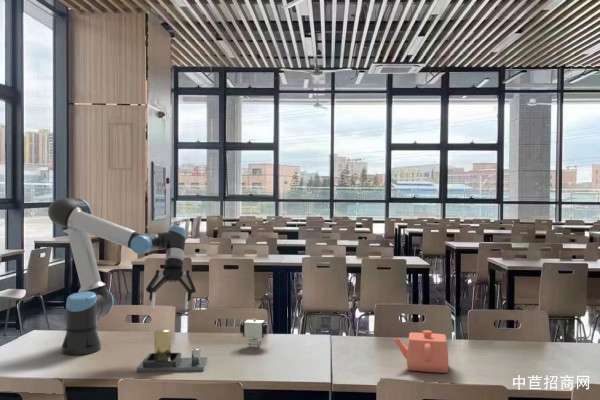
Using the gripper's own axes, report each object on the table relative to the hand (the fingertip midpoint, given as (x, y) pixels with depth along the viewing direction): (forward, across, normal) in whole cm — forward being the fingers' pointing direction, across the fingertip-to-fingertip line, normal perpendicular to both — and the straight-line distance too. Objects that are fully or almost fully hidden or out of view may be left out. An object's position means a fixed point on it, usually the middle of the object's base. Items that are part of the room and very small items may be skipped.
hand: (169, 308), depth 219 cm
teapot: (+27, -98, +12) cm, 102 cm away
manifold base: (+24, -5, +6) cm, 26 cm away
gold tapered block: (+23, -1, +6) cm, 24 cm away
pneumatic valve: (+11, -35, -16) cm, 40 cm away
